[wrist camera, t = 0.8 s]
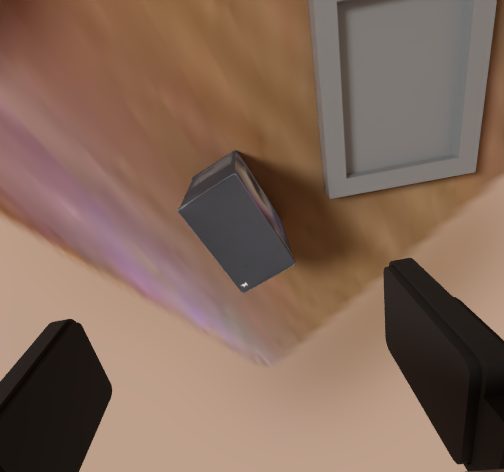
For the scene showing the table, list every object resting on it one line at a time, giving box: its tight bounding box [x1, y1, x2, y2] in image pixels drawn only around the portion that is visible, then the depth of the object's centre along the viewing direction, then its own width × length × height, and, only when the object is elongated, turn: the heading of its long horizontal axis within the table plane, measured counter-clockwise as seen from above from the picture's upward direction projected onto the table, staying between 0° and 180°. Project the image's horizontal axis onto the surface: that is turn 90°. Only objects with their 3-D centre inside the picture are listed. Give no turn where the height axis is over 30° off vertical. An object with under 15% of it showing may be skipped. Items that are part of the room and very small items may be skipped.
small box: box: [178, 150, 295, 293], centre depth 33 cm, size 11×6×10 cm, turn 32°
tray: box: [308, 0, 497, 199], centre depth 32 cm, size 20×16×2 cm
